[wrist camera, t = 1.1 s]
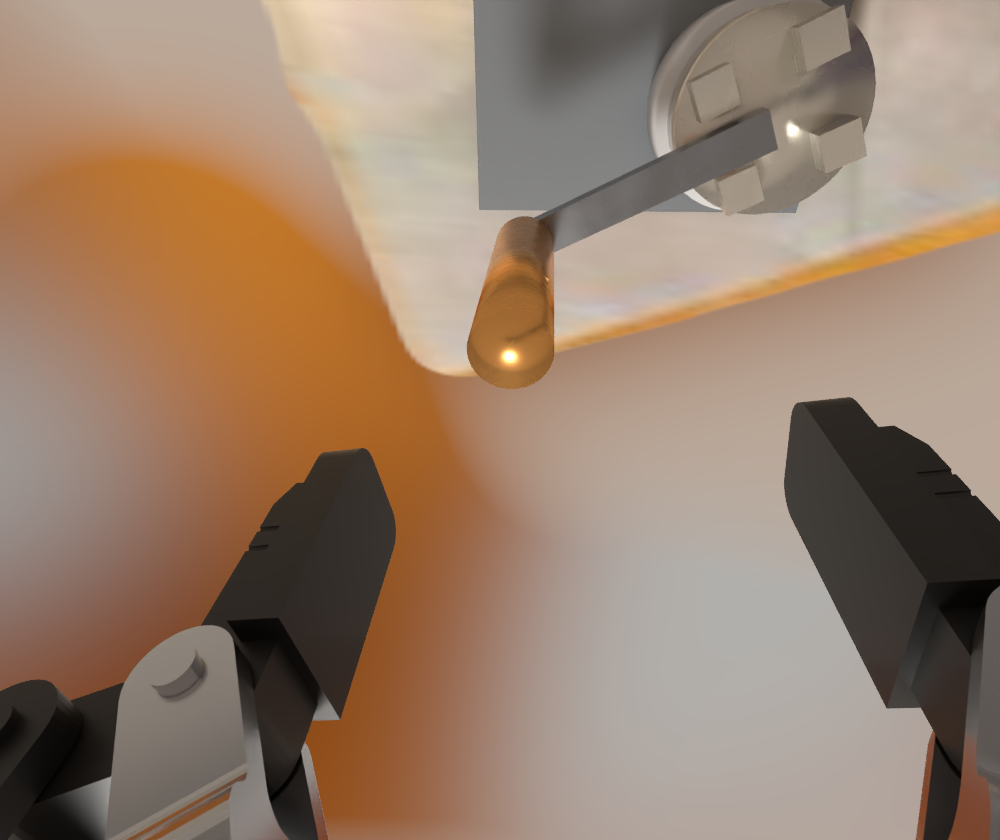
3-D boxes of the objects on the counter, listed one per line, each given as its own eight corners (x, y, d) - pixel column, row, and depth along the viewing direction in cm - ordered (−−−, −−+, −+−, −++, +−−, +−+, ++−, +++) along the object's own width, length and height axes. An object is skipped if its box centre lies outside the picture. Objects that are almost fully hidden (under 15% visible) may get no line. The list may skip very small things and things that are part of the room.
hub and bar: (836, -38, 26) (1155, -126, 12) (865, 156, 30) (1126, 254, 16) (469, 160, 32) (405, 251, 18) (536, 299, 36) (526, 460, 22)
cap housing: (863, -77, 29) (917, -98, 25) (789, 208, 37) (820, 230, 33) (473, -68, 31) (461, -85, 26) (481, 205, 38) (472, 226, 34)
